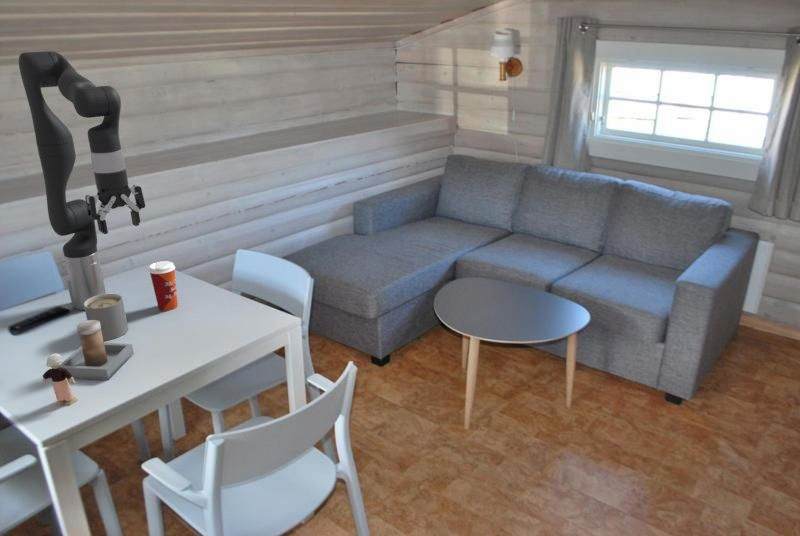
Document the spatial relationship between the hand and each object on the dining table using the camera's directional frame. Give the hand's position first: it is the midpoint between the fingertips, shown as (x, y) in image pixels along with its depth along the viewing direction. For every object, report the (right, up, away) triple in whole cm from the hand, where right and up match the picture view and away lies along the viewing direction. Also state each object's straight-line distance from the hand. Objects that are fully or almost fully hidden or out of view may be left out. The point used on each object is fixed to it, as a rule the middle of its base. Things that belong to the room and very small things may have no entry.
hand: (120, 229), depth 168 cm
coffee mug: (-10, -28, +17) cm, 34 cm away
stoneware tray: (-5, -35, -2) cm, 36 cm away
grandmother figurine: (-6, -42, -17) cm, 46 cm away
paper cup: (+1, -22, +31) cm, 38 cm away
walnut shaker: (-5, -35, -2) cm, 35 cm away
